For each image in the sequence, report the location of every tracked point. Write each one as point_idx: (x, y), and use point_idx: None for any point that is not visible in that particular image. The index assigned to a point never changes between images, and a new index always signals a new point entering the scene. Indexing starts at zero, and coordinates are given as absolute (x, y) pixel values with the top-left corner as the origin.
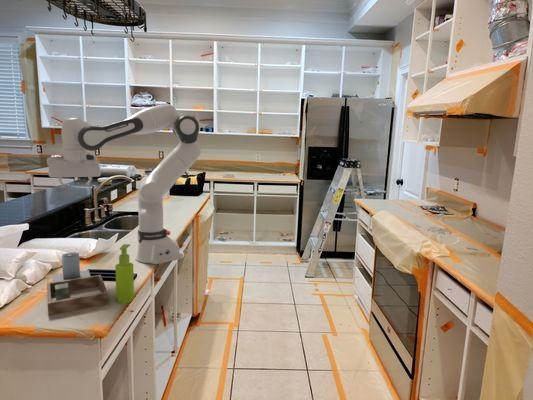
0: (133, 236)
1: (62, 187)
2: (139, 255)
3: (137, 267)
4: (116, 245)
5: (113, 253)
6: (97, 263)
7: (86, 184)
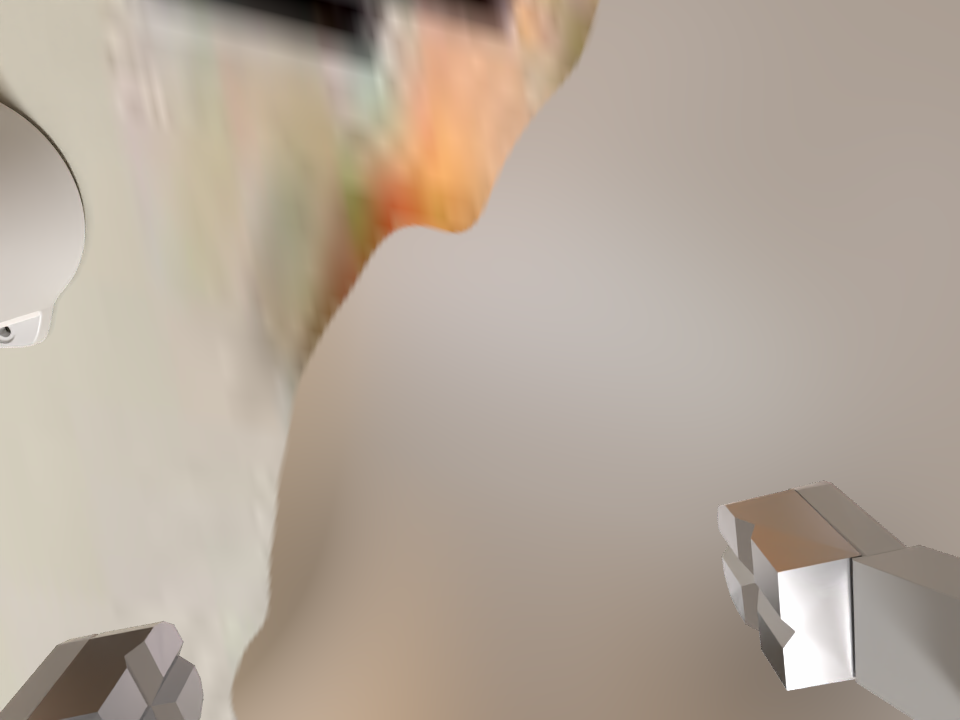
0: None
1: (807, 484)
2: (13, 148)
3: (33, 16)
4: (273, 515)
5: (263, 358)
6: (332, 169)
7: (113, 676)
